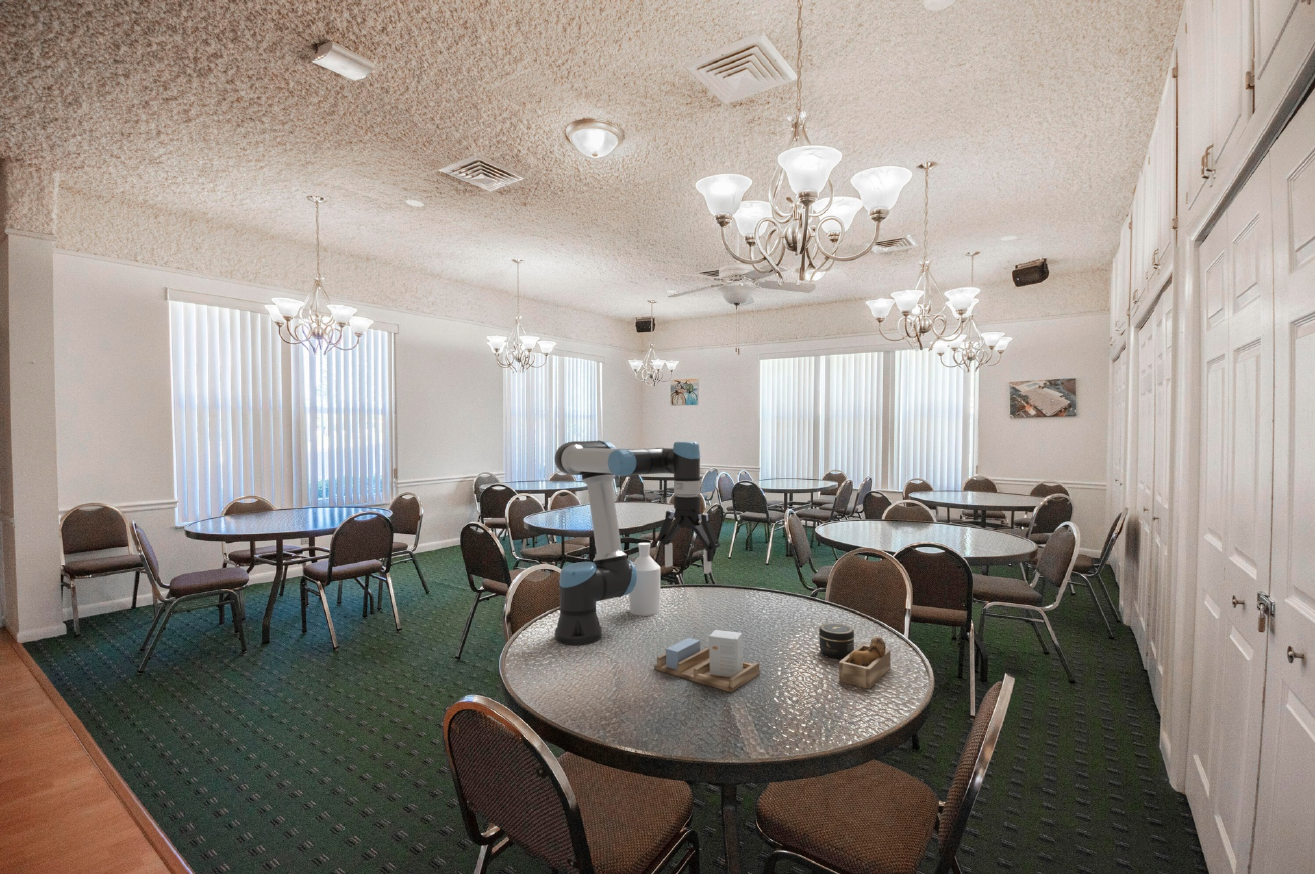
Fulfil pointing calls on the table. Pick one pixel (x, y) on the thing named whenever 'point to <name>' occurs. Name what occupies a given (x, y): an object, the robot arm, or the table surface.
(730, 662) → the small box
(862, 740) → the table surface
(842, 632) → the jar
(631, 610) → the bottle
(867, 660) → the lion figurine
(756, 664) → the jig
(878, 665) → the open wooden box
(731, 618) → the table surface
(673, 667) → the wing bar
